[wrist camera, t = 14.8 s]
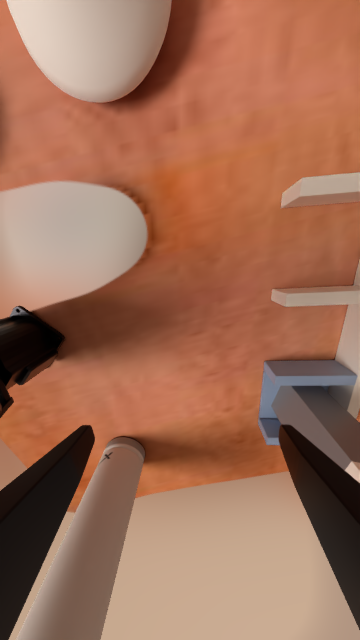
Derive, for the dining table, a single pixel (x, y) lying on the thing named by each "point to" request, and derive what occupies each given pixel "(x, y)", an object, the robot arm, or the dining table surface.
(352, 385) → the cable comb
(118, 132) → the dining table surface
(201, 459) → the dining table surface
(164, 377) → the dining table surface
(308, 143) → the dining table surface
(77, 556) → the travel mug
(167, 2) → the flower in vase
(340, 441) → the grey tall block
